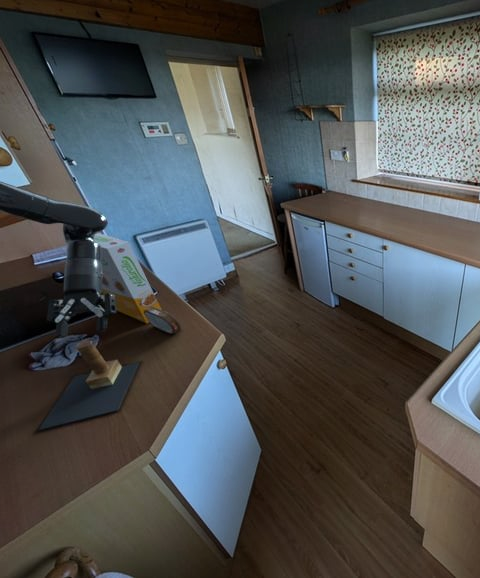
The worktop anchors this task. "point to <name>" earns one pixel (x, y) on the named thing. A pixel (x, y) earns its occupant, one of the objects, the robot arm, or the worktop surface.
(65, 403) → the mat
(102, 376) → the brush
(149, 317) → the tin
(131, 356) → the worktop surface
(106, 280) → the cereal box
